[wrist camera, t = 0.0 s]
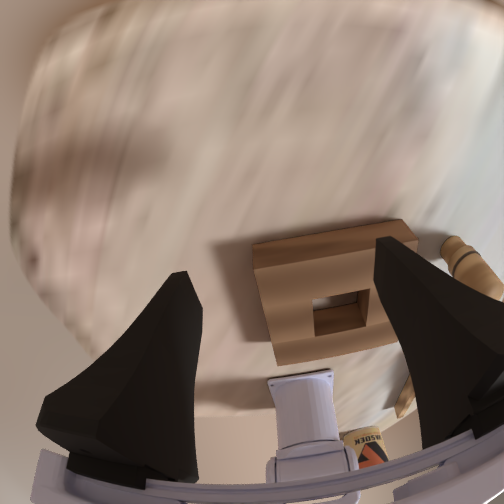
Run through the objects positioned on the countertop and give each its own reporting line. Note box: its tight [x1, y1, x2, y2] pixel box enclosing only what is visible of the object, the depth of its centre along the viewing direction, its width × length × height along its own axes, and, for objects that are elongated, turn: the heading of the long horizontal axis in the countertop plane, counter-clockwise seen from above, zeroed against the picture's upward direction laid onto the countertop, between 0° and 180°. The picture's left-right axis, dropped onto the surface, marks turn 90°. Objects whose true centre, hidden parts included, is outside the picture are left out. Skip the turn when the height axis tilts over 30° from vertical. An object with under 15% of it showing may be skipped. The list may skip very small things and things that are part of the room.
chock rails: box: [394, 375, 415, 419], centre depth 34 cm, size 23×10×2 cm, turn 11°
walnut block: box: [252, 219, 419, 366], centre depth 24 cm, size 12×12×3 cm
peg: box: [440, 236, 504, 301], centre depth 20 cm, size 3×3×7 cm
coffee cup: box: [343, 426, 389, 469], centre depth 44 cm, size 9×9×12 cm
